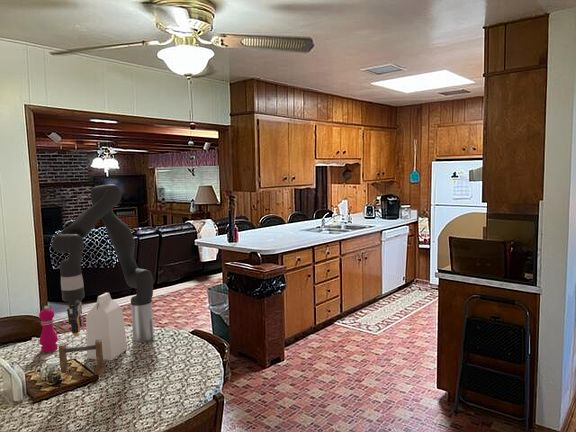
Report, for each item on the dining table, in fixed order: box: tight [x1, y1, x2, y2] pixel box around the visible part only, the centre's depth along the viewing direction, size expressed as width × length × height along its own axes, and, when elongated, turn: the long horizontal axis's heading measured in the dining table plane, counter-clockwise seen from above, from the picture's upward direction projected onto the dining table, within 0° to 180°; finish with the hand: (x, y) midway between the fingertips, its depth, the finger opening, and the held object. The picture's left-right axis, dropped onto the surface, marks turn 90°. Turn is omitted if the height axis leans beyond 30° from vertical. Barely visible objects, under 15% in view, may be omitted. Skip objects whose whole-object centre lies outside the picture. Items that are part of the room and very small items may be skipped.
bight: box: [72, 317, 81, 338], centre depth 165 cm, size 1×6×7 cm, turn 16°
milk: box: [85, 292, 129, 361], centre depth 188 cm, size 12×12×26 cm
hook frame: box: [58, 339, 107, 376], centre depth 170 cm, size 16×10×12 cm, turn 105°
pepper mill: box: [38, 305, 59, 353], centre depth 194 cm, size 7×7×20 cm
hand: (76, 329), depth 166 cm, fingers closed on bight, 5 cm apart
